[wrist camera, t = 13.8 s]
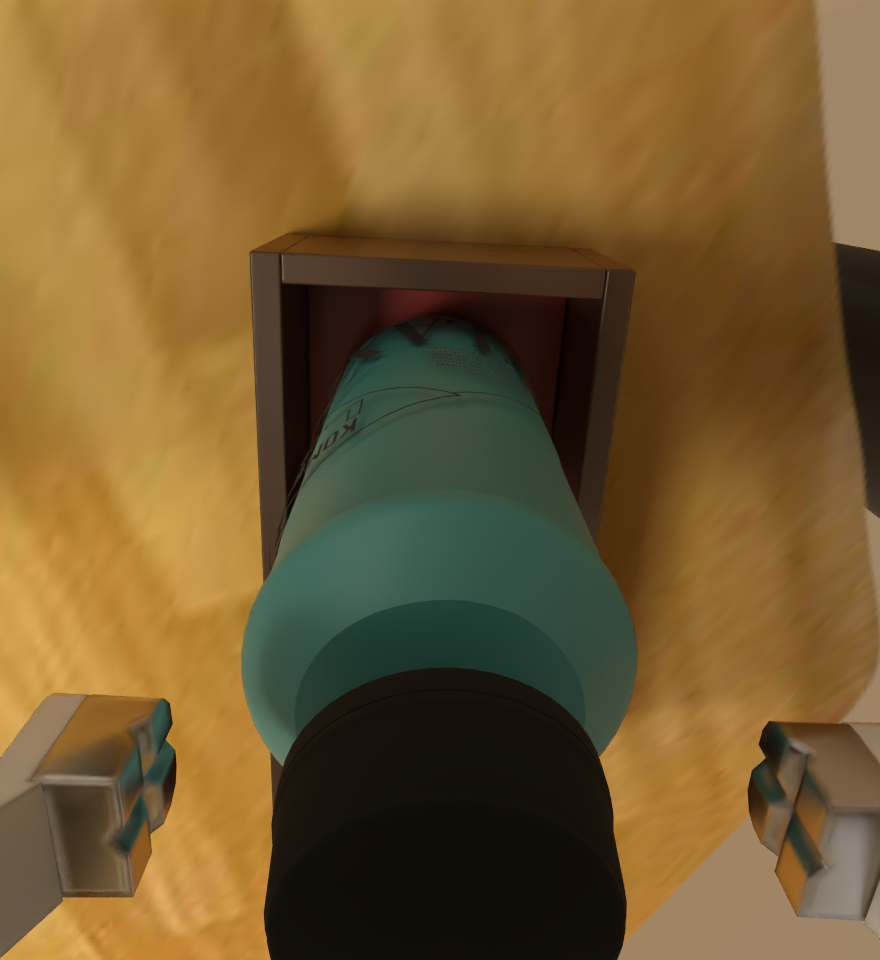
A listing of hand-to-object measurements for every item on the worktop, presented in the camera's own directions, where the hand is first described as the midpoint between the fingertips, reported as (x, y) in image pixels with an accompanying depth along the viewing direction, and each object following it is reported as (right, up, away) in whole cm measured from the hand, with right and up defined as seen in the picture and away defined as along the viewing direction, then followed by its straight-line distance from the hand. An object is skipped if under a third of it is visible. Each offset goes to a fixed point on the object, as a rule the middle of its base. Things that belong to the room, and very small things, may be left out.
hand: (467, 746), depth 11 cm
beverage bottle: (-1, +7, +16) cm, 17 cm away
